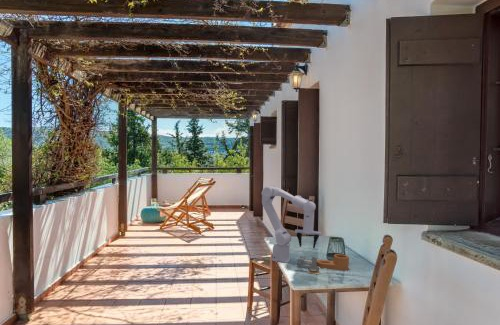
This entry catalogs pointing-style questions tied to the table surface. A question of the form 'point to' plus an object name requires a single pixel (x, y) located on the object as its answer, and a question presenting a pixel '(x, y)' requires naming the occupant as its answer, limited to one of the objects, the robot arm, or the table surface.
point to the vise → (304, 262)
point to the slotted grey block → (314, 265)
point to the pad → (313, 272)
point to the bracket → (335, 263)
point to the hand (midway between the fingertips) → (307, 247)
